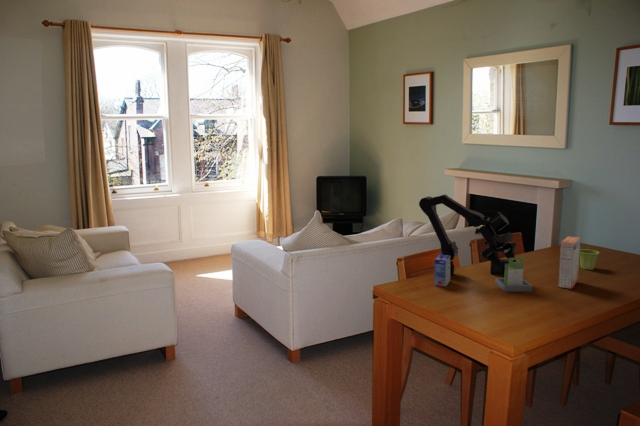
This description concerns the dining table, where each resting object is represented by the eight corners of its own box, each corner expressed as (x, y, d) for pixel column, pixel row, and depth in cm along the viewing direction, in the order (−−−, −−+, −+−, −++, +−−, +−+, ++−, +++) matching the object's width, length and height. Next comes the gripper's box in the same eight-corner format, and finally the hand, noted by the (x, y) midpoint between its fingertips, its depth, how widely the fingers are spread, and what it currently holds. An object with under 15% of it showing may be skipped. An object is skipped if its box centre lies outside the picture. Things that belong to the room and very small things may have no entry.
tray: (504, 291, 236) (504, 286, 235) (495, 283, 248) (495, 278, 247) (531, 291, 236) (532, 285, 235) (521, 283, 248) (522, 278, 247)
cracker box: (563, 279, 253) (567, 235, 250) (578, 281, 250) (581, 237, 246) (557, 287, 242) (560, 241, 238) (571, 289, 238) (575, 242, 235)
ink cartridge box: (438, 279, 254) (439, 249, 252) (450, 281, 252) (451, 250, 250) (433, 285, 245) (434, 254, 243) (445, 286, 243) (446, 255, 241)
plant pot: (601, 269, 271) (603, 252, 270) (591, 271, 266) (592, 254, 265) (583, 264, 279) (584, 248, 277) (573, 267, 274) (574, 250, 272)
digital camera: (490, 275, 261) (491, 261, 260) (490, 272, 267) (490, 258, 265) (513, 276, 259) (514, 262, 258) (512, 273, 264) (513, 259, 263)
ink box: (518, 284, 244) (520, 255, 242) (522, 287, 240) (524, 257, 238) (503, 284, 244) (505, 255, 241) (507, 287, 240) (508, 257, 238)
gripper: (488, 228, 238) (507, 258, 231) (514, 224, 249) (534, 252, 242) (472, 243, 246) (491, 272, 239) (498, 238, 257) (517, 266, 250)
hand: (509, 265), depth 242 cm, fingers open, 9 cm apart
